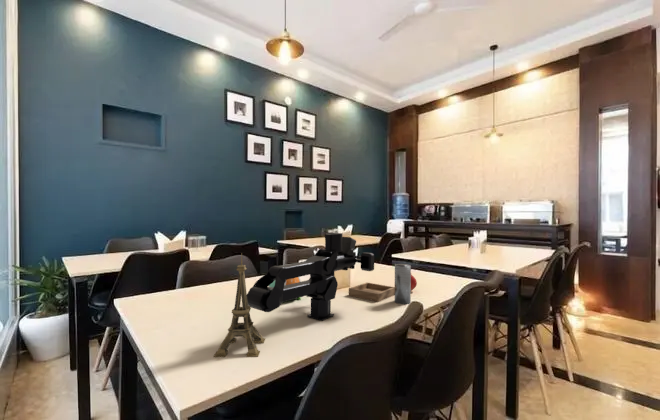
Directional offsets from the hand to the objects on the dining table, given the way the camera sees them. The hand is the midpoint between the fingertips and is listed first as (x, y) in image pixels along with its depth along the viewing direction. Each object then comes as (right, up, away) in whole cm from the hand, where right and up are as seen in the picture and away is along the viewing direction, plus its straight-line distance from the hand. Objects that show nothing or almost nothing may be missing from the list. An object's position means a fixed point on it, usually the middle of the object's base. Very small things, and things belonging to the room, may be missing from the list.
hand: (363, 257), depth 126 cm
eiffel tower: (-36, -17, -44) cm, 59 cm away
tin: (+15, -17, -2) cm, 22 cm away
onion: (+21, -17, +14) cm, 31 cm away
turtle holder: (-32, -17, +2) cm, 36 cm away
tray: (+4, -17, +7) cm, 19 cm away
